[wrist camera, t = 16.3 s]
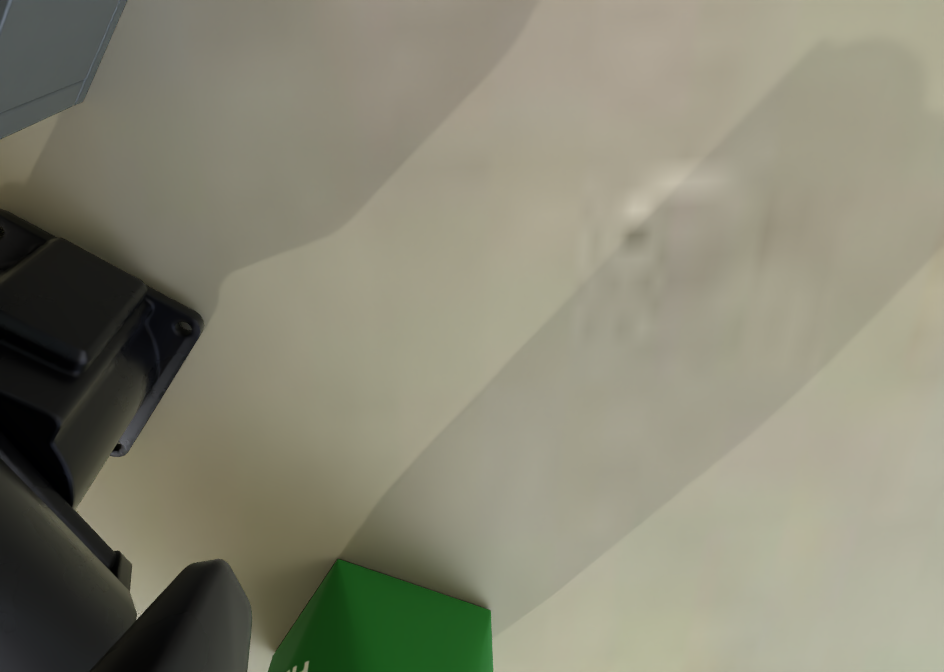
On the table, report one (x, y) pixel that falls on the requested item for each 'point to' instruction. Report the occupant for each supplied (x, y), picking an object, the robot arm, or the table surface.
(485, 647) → the milk carton
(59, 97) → the open storage bin
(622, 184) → the table surface
